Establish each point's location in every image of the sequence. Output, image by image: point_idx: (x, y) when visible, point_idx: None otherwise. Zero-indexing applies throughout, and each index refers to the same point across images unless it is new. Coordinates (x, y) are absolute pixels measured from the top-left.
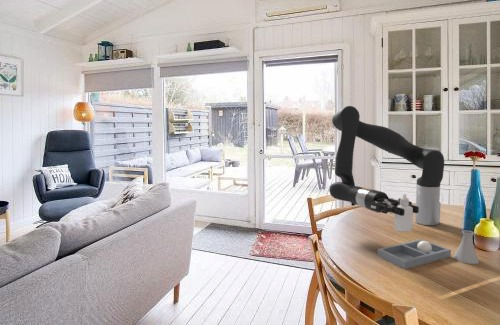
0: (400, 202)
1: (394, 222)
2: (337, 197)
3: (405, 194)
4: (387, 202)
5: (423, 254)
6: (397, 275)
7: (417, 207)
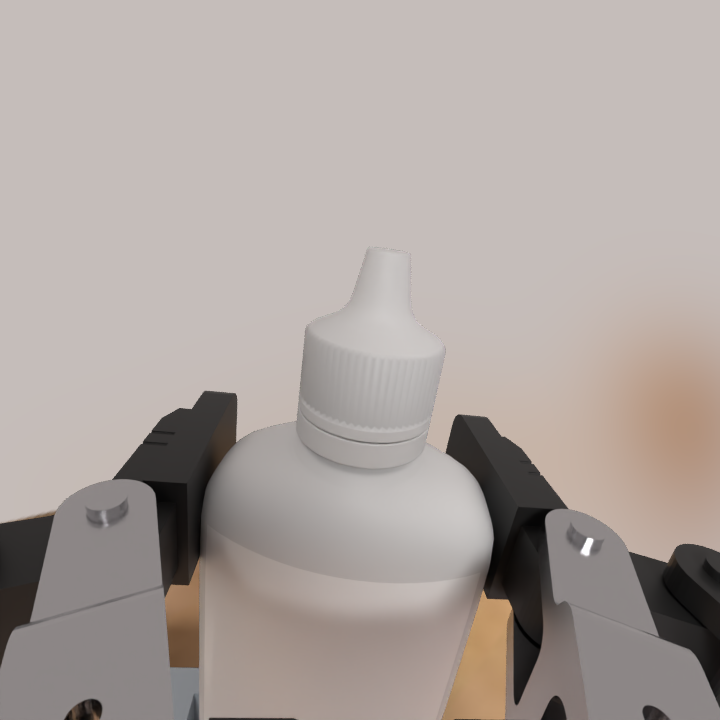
0: (429, 421)
1: (441, 717)
2: None
3: (375, 248)
4: (679, 664)
5: (189, 710)
6: (480, 686)
7: (228, 395)
